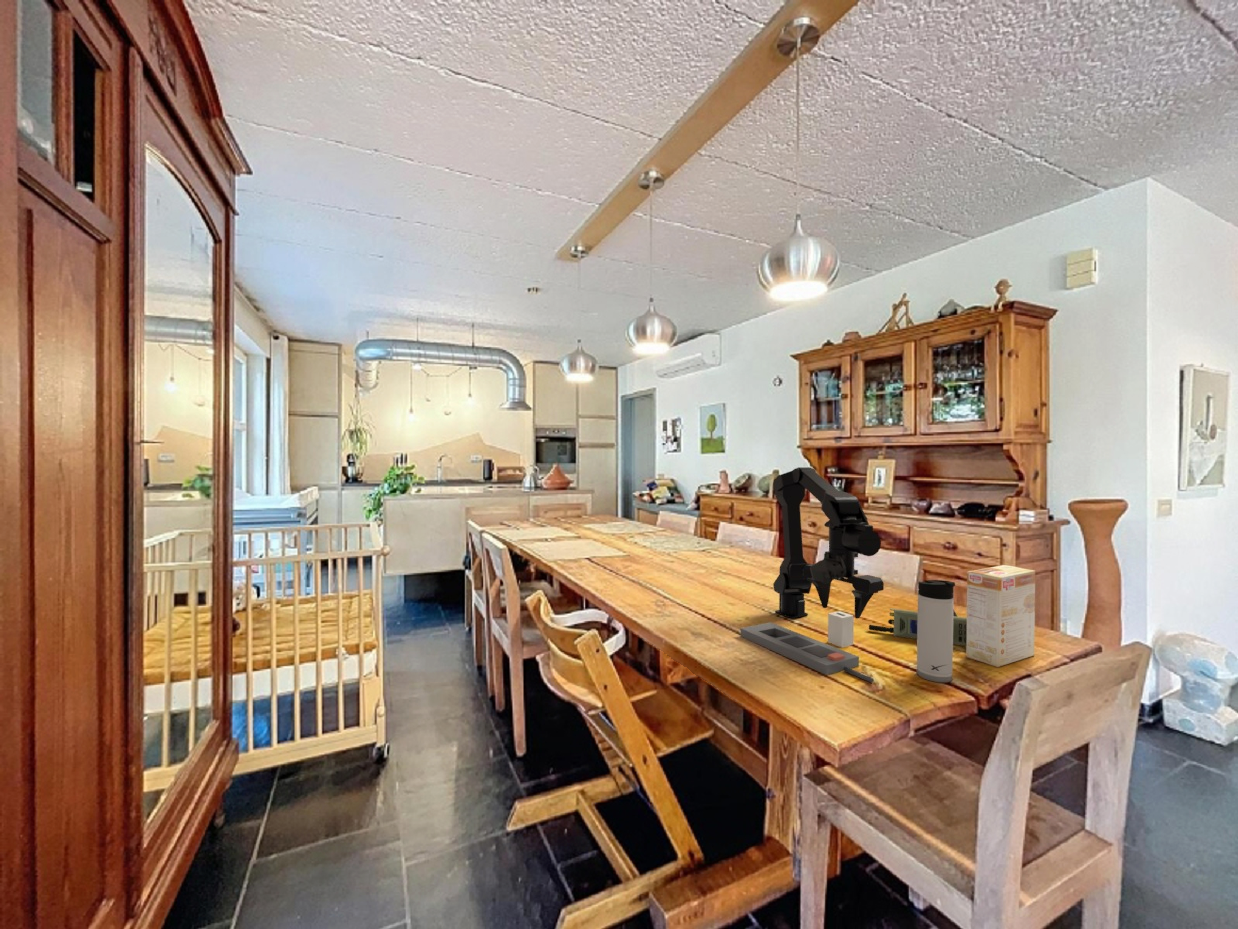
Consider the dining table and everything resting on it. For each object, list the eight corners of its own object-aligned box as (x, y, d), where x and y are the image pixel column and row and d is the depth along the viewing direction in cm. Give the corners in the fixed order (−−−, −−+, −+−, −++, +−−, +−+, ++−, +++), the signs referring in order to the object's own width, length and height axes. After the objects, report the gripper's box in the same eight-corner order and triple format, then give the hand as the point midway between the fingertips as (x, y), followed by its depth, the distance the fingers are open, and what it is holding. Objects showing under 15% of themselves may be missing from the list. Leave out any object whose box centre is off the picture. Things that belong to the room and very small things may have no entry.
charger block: (827, 642, 127) (828, 613, 127) (839, 639, 129) (839, 610, 129) (841, 647, 124) (842, 617, 123) (853, 644, 125) (853, 615, 125)
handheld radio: (987, 651, 122) (868, 634, 133) (984, 647, 125) (868, 630, 136) (987, 622, 122) (869, 607, 134) (985, 618, 125) (869, 604, 137)
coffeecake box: (1001, 645, 125) (1002, 564, 125) (1036, 656, 119) (1037, 570, 118) (963, 656, 118) (965, 570, 118) (998, 668, 112) (1000, 577, 112)
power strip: (740, 636, 131) (740, 625, 131) (770, 630, 136) (770, 620, 136) (856, 688, 102) (856, 675, 102) (889, 678, 107) (889, 665, 107)
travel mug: (942, 686, 103) (943, 584, 103) (910, 673, 109) (911, 577, 108) (960, 680, 106) (962, 581, 105) (928, 668, 112) (930, 574, 111)
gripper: (787, 544, 130) (786, 607, 131) (853, 558, 114) (852, 629, 114) (818, 541, 135) (817, 601, 136) (885, 553, 119) (884, 622, 119)
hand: (840, 612), depth 126 cm, fingers open, 9 cm apart
